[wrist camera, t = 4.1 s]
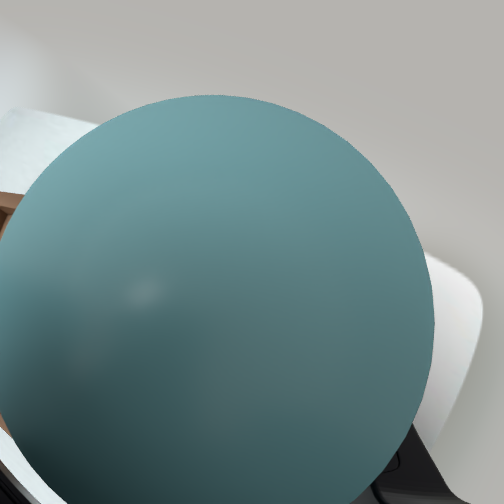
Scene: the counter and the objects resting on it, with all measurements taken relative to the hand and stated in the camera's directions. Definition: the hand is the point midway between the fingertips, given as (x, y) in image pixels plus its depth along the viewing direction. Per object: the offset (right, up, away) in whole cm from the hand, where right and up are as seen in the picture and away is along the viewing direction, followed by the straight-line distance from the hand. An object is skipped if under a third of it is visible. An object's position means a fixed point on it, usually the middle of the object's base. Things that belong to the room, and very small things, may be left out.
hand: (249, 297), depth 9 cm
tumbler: (0, -4, +6) cm, 7 cm away
